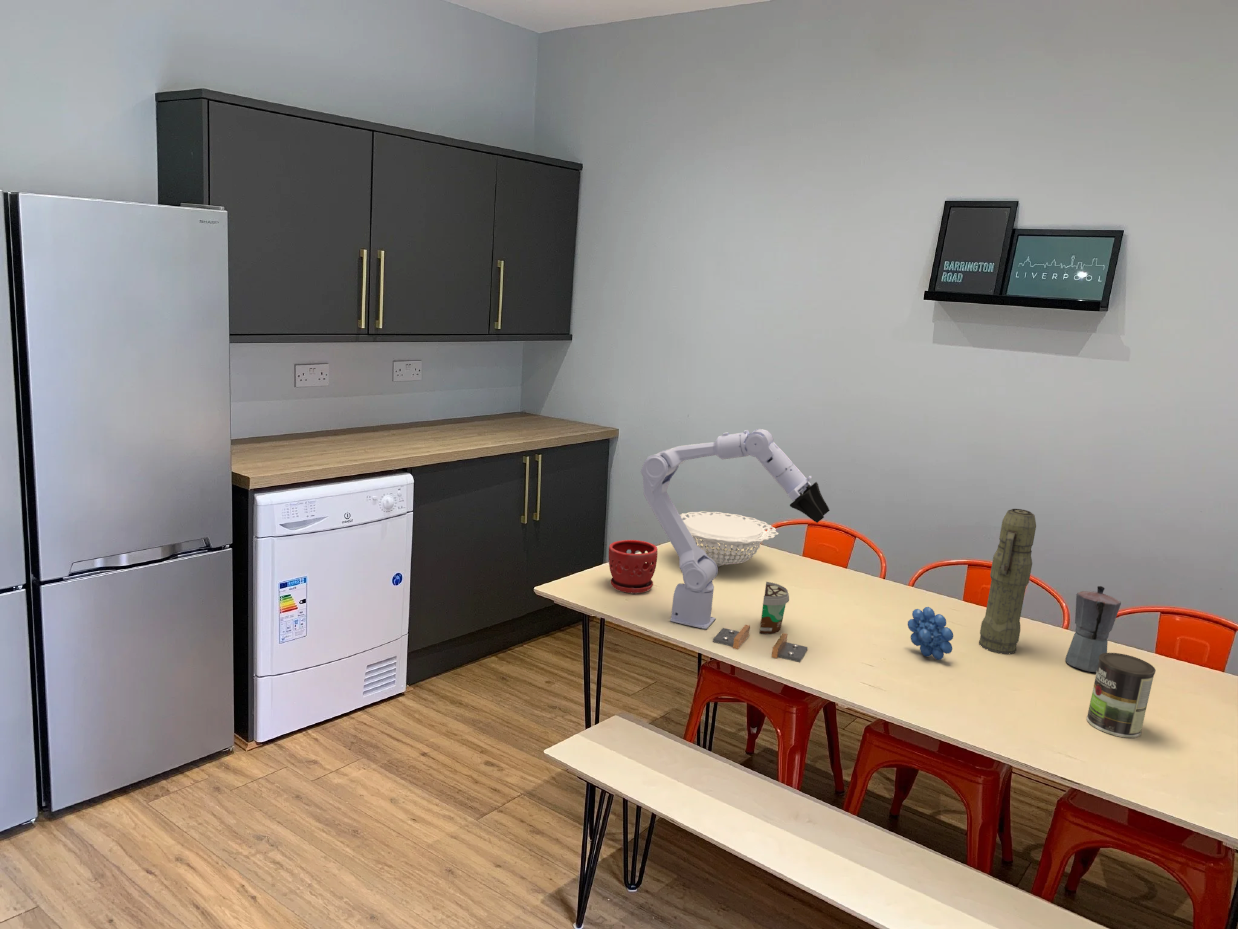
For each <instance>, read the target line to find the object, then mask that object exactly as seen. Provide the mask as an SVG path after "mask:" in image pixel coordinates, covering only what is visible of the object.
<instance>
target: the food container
mask: <svg viewBox="0 0 1238 929" xmlns="http://www.w3.org/2000/svg"><path fill="white" fill-rule="evenodd" d="M789 601H790V594H789V590H788V589H787V588H786V587H785V586H783V585H781V584H778V583H775V582H770V581H765V590H764V596H763V601H762V610H761V617H760V618H761V619H760V628H759V634H761V635H762V634H763V635H772V634H777V633H779V632H780V631H781V628H782V625H783V619H784V614H785V610H786V605H787V604H788V603H789Z"/></svg>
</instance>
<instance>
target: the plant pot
mask: <svg viewBox="0 0 1238 929" xmlns="http://www.w3.org/2000/svg"><path fill="white" fill-rule="evenodd" d="M628 550H629V551H630V553H628V552H627V551H628ZM637 551H638V552H640V553H636V552H637ZM657 563H658V548H657V546H656V545H655V544H654V543H651V542H648V541H645V540H636V539H623V540H617V541H613V542H612V543H610V544H609V545H608V564H609V565H608V567H609V571H610V575H611V579H610V584H611V586H612V587H613V588H614V589H615V590H617V591H619V592H622V593H626V594H627V593H628V594H633V595H636V594H642V593H646V592H648V591H650V590H651V589H652V588H653V586H654V581H653V580H652V578H653V576H654V574H655V571H656V569H657Z"/></svg>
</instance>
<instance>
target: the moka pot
mask: <svg viewBox="0 0 1238 929" xmlns="http://www.w3.org/2000/svg"><path fill="white" fill-rule="evenodd" d="M1105 589H1106V588H1105V587H1104V586H1101V585H1100V586H1099V585H1098V586H1097V591H1087V590H1086V591H1084V590H1082V591H1080V592H1077V593H1076V594H1075V595H1076V597H1075V617H1074V618H1075V619H1074V624H1075V625H1076V626H1075V630H1074V631H1075V632H1074V634H1073V637H1072V640H1071V642H1070V645H1069V647H1068V649H1067V653H1066V656H1065V659H1064V660H1065V662H1066V664H1067V665H1069V666H1071V667H1073V668H1076V669H1079V670H1081V671H1085V672H1090V673H1096V672H1097V668H1098V663H1099V655H1101V654H1103V653H1108V642H1109V641H1108V638H1109V635H1110V632H1112V630H1113V628H1114V625H1115V622H1116V620H1117V619H1116V618H1117V616H1118V614H1119V611H1120V608H1121V605H1122V602H1121V601H1120V600H1118V599H1117V598H1115V597H1113V596H1111V595H1108V594H1105V593H1104V591H1105Z"/></svg>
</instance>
